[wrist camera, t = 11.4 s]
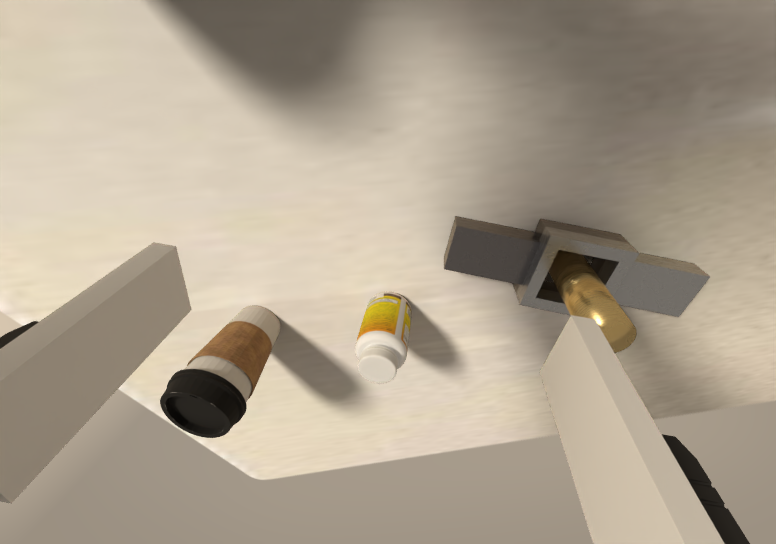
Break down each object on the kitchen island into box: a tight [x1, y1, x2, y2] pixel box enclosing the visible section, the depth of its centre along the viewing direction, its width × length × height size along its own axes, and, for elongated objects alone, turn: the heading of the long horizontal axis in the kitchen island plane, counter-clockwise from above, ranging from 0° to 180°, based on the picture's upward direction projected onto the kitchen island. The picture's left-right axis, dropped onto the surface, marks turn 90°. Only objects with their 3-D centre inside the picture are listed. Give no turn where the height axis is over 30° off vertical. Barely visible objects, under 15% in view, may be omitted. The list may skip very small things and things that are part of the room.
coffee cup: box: [160, 306, 281, 438], centre depth 41 cm, size 8×8×15 cm
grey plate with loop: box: [444, 216, 710, 317], centre depth 35 cm, size 24×8×4 cm, turn 81°
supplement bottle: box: [355, 292, 412, 384], centre depth 39 cm, size 6×6×10 cm
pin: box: [549, 250, 636, 353], centre depth 32 cm, size 4×4×12 cm
